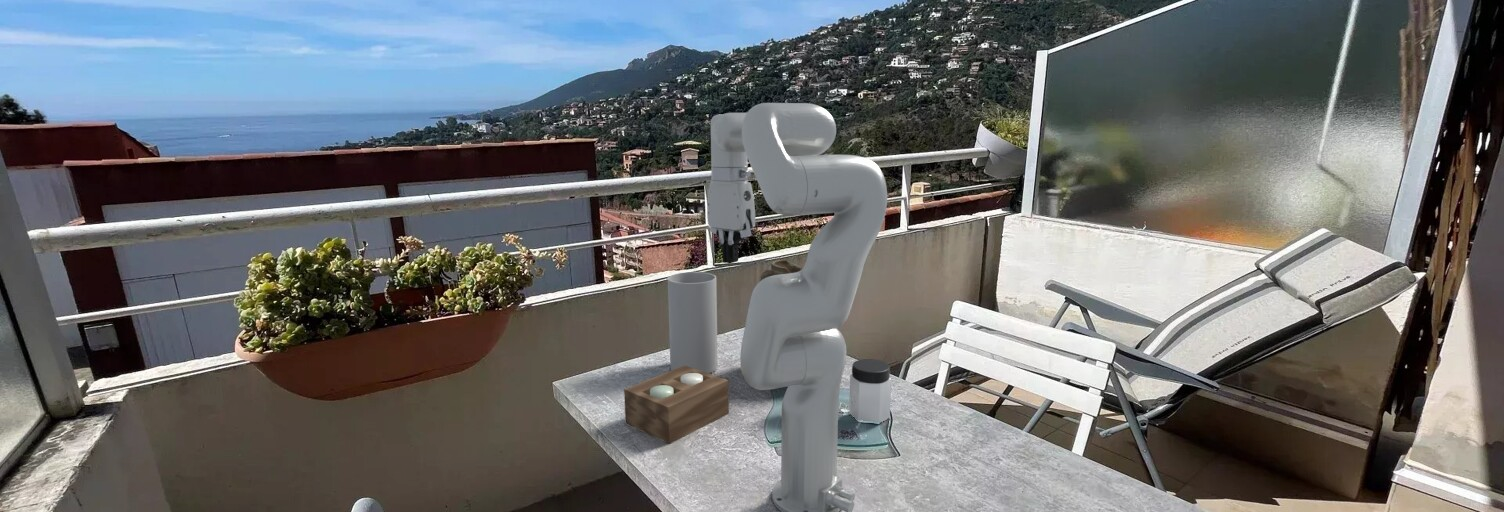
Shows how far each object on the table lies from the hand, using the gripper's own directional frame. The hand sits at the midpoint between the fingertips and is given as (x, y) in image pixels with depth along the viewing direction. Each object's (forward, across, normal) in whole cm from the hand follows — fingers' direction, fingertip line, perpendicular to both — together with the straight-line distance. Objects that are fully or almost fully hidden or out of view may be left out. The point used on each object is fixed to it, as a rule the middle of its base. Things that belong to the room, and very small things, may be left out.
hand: (730, 261), depth 136 cm
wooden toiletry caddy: (+35, +8, +9) cm, 37 cm away
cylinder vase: (+35, +26, -14) cm, 46 cm away
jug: (+35, +4, -26) cm, 44 cm away
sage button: (+31, +8, +14) cm, 35 cm away
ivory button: (+31, +8, +4) cm, 32 cm away
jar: (+35, -24, -19) cm, 47 cm away
